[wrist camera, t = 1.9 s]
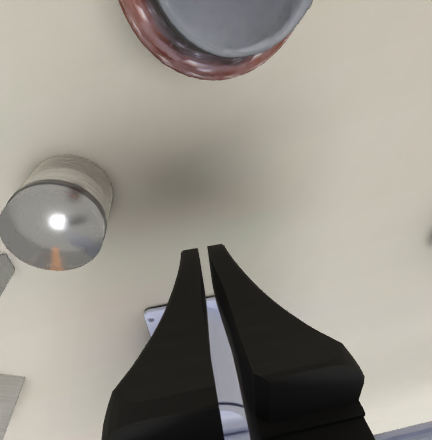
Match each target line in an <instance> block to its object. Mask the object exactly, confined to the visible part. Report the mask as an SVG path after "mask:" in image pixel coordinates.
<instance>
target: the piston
mask: <svg viewBox="0 0 432 440" xmlns="http://www.w3.org/2000/svg"><path fill="white" fill-rule="evenodd" d="M112 199H113V189H112V185H111V182H110V180H109V178H108V176H107V175H106V174H105V172H104V171H103V170H102V169H101V168H100V167H99V166H97V165H96V164H95V163H93V162H91V161H90V160H88V159H85V158H83V157H79V156H75V155H57V156H53V157H50V158H48V159H46V160H44V161H43V162H41V163H40V164H39V165H38V166H37V167H36V168H35V170H34V171H33V172H32V173H31V175H30V176H29V177H28V179H27V180H26V181H25V182H24V184H23V185H22V186H21V187H20V189H18V190H17V191H16V192H15V193H14V195H13V196H12V197H11V198H10V200H9V201H8V203H7V205H6V206H5V208H4V209H3V211H2V212H1V215H0V237H1V239H2V241H3V243H4V245H5V246H6V248H7V249H8V250H9V251H10V252H11V253H12V254H13V255H14V256H16V257H17V258H19V259H20V260H22V261H23V262H25V263H27V264H29V265H32V266H35V267H37V268H41V269H46V270H55V271H62V270H70V269H75V268H78V267H81V266H83V265H85V264H87V263H88V262H90V261H91V260H92V259H93V258H94V257H95V256H96V255H97V254H98V252H99V251H100V248H101V246H102V242H103V240H104V237H105V233H106V229H107V220H108V216H109V212H110V207H111V203H112Z"/></svg>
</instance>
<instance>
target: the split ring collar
mask: <svg viewBox="0 0 432 440" xmlns="http://www.w3.org/2000/svg"><path fill="white" fill-rule="evenodd" d="M14 271H15V268H14V267H13V265H12V263H11V262H10V260H9V258H8V257H7V255H6V254H2V255H0V296H1V294H2V292H3V291H4V289H5V287H6V285H7V283H8V282H9V280H10V278H11V276H12V274H13V273H14Z"/></svg>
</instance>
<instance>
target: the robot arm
mask: <svg viewBox="0 0 432 440" xmlns="http://www.w3.org/2000/svg"><path fill="white" fill-rule="evenodd" d="M207 247H208V255H209V263H210V270H211V278H212V284H213V289H214V294H215V297H212V298H206V296H205V290H204V283H203V277H202V270H201V264H200V258H199V253H198V248H195V249H190V250H184V251H182V253H181V260H180V266H179V270H178V274H177V278H176V281H175V285H174V288H173V291H172V293H171V296H170V299H169V301H168V304H167V306H164V307H159V308H153V309H149V310H146V311H145V313H144V318H145V321H146V324H147V327H148V330H149V333H150V336H151V338H150V340H149V342H148V343H147V345H146V346H145V348H144V349H143V351H142V352H141V354H140V355H139V357H138V358H137V360H136V361H135V363H134V364H133V366H132V367H131V369H130V370H129V371H128V372H127V374H126V375H125V376H124V378H123V379H122V380H121V381H120V383H119V384H118V385H117V387H116V388H115V389H114V390H113V392H112V395H111V398H110V401H109V404H108V408H107V411H106V415H105V420H104V424H103V432H102V440H432V421H430V422H426V423H422V424H418V425H414V426H409V427H405V428H401V429H397V430H393V431H389V432H384V433H380V434H376V435H373V434H372V432H371V430H370V428H369V426H368V425H367V423H366V421H365V419H364V416H365V412H364V409H363V407H362V406H361V404H360V402H359V397H360V394H361V390H362V387H363V384H364V375H363V373H362V371H361V369H360V367H359V365H358V364H357V362H356V361H355V359H354V358H353V357H352V355H351V354H350V353H349V351H348V350H347V349H346V348H345V346H344V345H343V344H342V343H340V342H338V341H336V340H335V339H333V338H331V337H329V336H327V335H325V334H323V333H321V332H319V331H317V330H315V329H314V328H312V327H310V326H309V325H307V324H305V323H304V322H302V321H301V320H299V319H298V318H296V317H295V316H293V315H292V314H290V313H289V312H288V311H286V310H285V309H283V308H282V307H281V306H280V305H278V304H277V303H276V302H274V301H273V300H272V299H271V298H270V297H268V296H267V295H266V294H265V293H264V292H263V291H262V290H261V289H260V288H259V287H258V286H257V285H256V284H255V283H254V282H253V281H252V280H251V279H250V278H249V277H248V276H247V275H246V274H245V273H244V272H243V270H242V269H241V268H240V267H239V266H238V265H237V263H236V262H235V261H234V260H233V258H232V257H231V255H230V254H229V253H228V251H227V250H226V248H225V246H224V245H222V244H218V245H213V246H207Z"/></svg>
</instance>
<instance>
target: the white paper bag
mask: <svg viewBox="0 0 432 440" xmlns="http://www.w3.org/2000/svg"><path fill="white" fill-rule="evenodd" d="M24 379H25V377H21V376H14V375H6V374H0V440H3V438H4V435H5V432H6V430H7V427H8V424H9V421H10V418H11V416H12V413H13V410H14V407H15V404H16V402H17V399H18V396H19V393H20V390H21V388H22V385H23V382H24Z"/></svg>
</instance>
